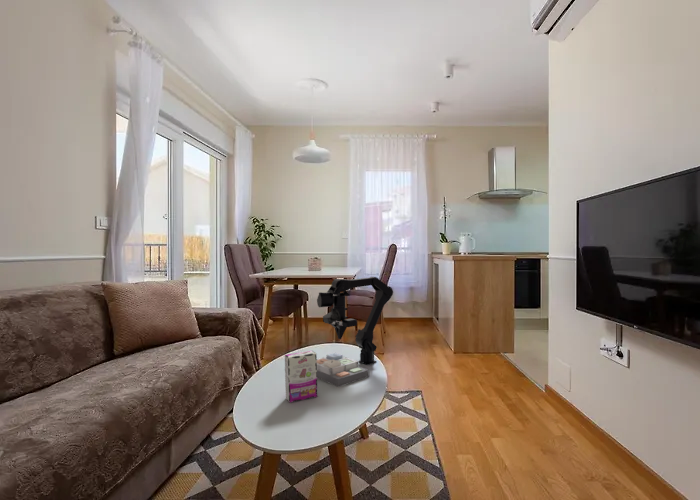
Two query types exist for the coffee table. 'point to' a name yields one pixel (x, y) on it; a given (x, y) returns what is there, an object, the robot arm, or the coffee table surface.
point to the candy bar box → (301, 376)
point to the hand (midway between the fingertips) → (339, 339)
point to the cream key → (332, 363)
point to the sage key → (345, 361)
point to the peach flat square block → (321, 361)
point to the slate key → (334, 356)
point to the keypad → (341, 372)
